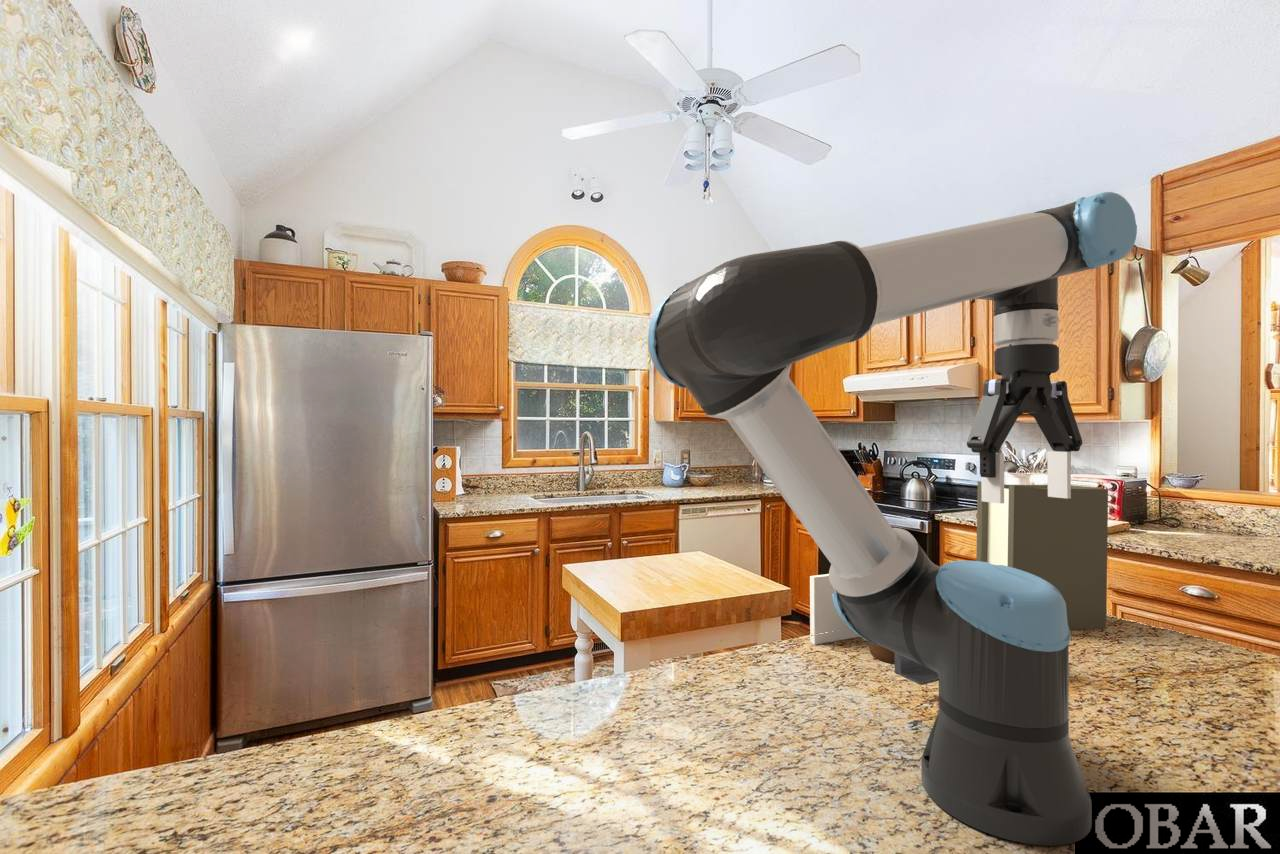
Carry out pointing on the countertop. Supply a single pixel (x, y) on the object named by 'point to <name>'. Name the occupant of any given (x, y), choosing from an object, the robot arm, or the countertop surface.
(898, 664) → the bookend
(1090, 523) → the book
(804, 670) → the countertop surface
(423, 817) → the countertop surface
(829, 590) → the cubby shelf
